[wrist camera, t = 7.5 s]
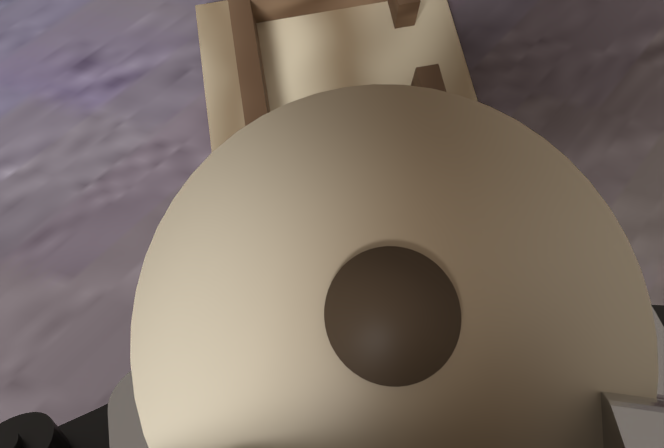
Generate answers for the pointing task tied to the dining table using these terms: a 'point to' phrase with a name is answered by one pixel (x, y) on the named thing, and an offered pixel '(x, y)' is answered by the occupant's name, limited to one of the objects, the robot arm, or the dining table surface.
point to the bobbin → (387, 286)
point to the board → (320, 52)
